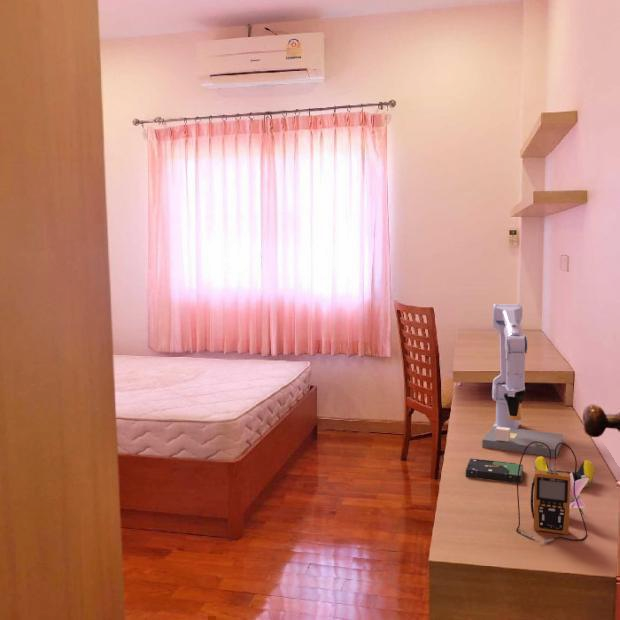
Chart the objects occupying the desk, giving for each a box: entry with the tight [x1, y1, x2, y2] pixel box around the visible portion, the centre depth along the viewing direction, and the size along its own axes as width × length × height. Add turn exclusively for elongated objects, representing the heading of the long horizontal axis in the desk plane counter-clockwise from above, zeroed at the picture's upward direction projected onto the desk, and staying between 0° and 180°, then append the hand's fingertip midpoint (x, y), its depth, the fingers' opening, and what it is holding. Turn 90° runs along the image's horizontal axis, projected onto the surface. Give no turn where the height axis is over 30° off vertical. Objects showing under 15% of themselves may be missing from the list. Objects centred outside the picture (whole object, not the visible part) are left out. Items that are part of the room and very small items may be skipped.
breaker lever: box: [495, 427, 510, 442], centre depth 193 cm, size 3×4×4 cm
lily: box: [569, 471, 589, 515], centre depth 143 cm, size 12×12×10 cm
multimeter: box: [515, 442, 588, 545], centre depth 131 cm, size 15×10×20 cm
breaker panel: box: [481, 426, 564, 458], centre depth 198 cm, size 18×22×4 cm
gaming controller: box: [534, 455, 595, 489], centre depth 164 cm, size 15×6×10 cm
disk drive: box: [465, 458, 524, 484], centre depth 171 cm, size 10×3×15 cm
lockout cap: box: [508, 402, 523, 421], centre depth 199 cm, size 4×4×6 cm
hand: (514, 414), depth 199 cm, fingers closed on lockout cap, 4 cm apart
